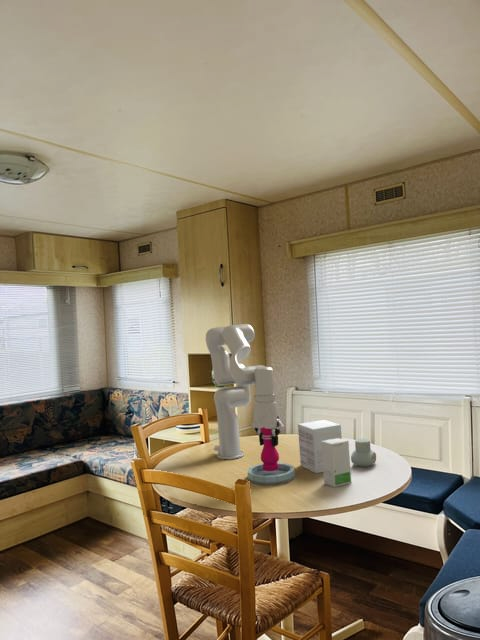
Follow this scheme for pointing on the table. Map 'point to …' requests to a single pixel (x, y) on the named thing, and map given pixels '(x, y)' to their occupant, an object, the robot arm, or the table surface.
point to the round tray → (268, 473)
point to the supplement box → (315, 442)
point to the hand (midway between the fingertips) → (269, 444)
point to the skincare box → (336, 462)
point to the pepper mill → (269, 451)
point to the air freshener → (363, 454)
